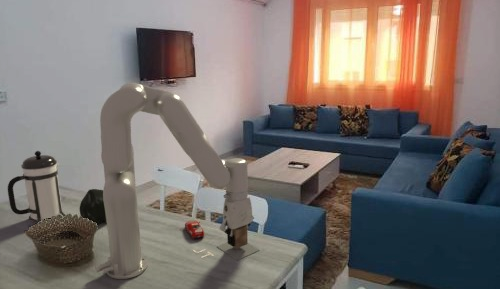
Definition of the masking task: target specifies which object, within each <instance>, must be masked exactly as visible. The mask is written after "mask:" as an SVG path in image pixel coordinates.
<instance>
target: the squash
mask: <svg viewBox="0 0 500 289" xmlns="http://www.w3.org/2000/svg"><path fill="white" fill-rule="evenodd" d="M79 204H80V205H79V214H80V217H81V216H82V217H83V218H88V219H89V220H92V221H93V222H96V223H95V224H96V225H97V224H102V222H104V223H107V222H106V213H105V207H104V201H103V189H97V188H91V189H88V191H87V192H86V194H85V195H84V196H83V198H82V199H81V201H80V203H79ZM82 217H81V218H82Z"/></svg>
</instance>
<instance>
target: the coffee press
mask: <svg viewBox="0 0 500 289" xmlns="http://www.w3.org/2000/svg"><path fill="white" fill-rule="evenodd" d="M20 166H21V169H22V172H23V174H22V175H21V176H19V175H18V176H15V177H13V178H12V179H11V180H9V182H8V184H7V195H8V201H9V206H10V209H11V211H12V212H13V213H15V214H16V215H26V214H29V215H28V219H29V220H34V221H36V224H37V223H38V222H39V221H41V220H43V221H45V220H44V219H46V218H51V217H52V216H56V217H59V218H60V219H62V217H64V216H65V217H66V214H65V213H64V212H63V207H62V199H61V191H60V184H59V176H58V174H59V171H58V169H57V167H59V166H61V165H60V163H59V162H57V159H55V157H53V156H51V155H47V154H46V155H45V154H43V155H42V152H41V151H39V150H36V151H35V152H34V156H30V157H27V158H26V159H24V160H23V161H22V164H21V165H20ZM23 180H24V184H25V191H26V196H27V203H28V208H25V209H18V208H17V205H16V199H15V194H14V186H15V184H16V183H17V182H19V181H23ZM51 219H52V218H51Z"/></svg>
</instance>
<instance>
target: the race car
mask: <svg viewBox="0 0 500 289" xmlns="http://www.w3.org/2000/svg"><path fill="white" fill-rule="evenodd" d="M184 227H185V229H184V230H186V231H187V233H188V235H189V237H190V238H191V239H193V240H194V239H195V240H196V239H200V238H203V237H205V231H204V229H203V227H202V226H201V222H199V221H196V220H189V221H187V222H185V224H184Z"/></svg>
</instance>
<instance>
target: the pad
mask: <svg viewBox="0 0 500 289" xmlns="http://www.w3.org/2000/svg"><path fill="white" fill-rule="evenodd" d="M216 248H218V249H219V250H220V251H223V252H224V253H225V254H227V255H228V256H230V257H231V258H233V259H234V260H236V261H239V260H242V259H244V258H247V257H248V256H251V255H253V254H256V253H257V252H259V251H260V249H258V248H257V247H255V246H253V244H250V243H249V242H248V244H246V245H244V246H242V247H239V248H237V249H236V248H235V247H233V246H231V245H230V244H228V241H227V242H224V243H221V244H219V245H217V246H216Z"/></svg>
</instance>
